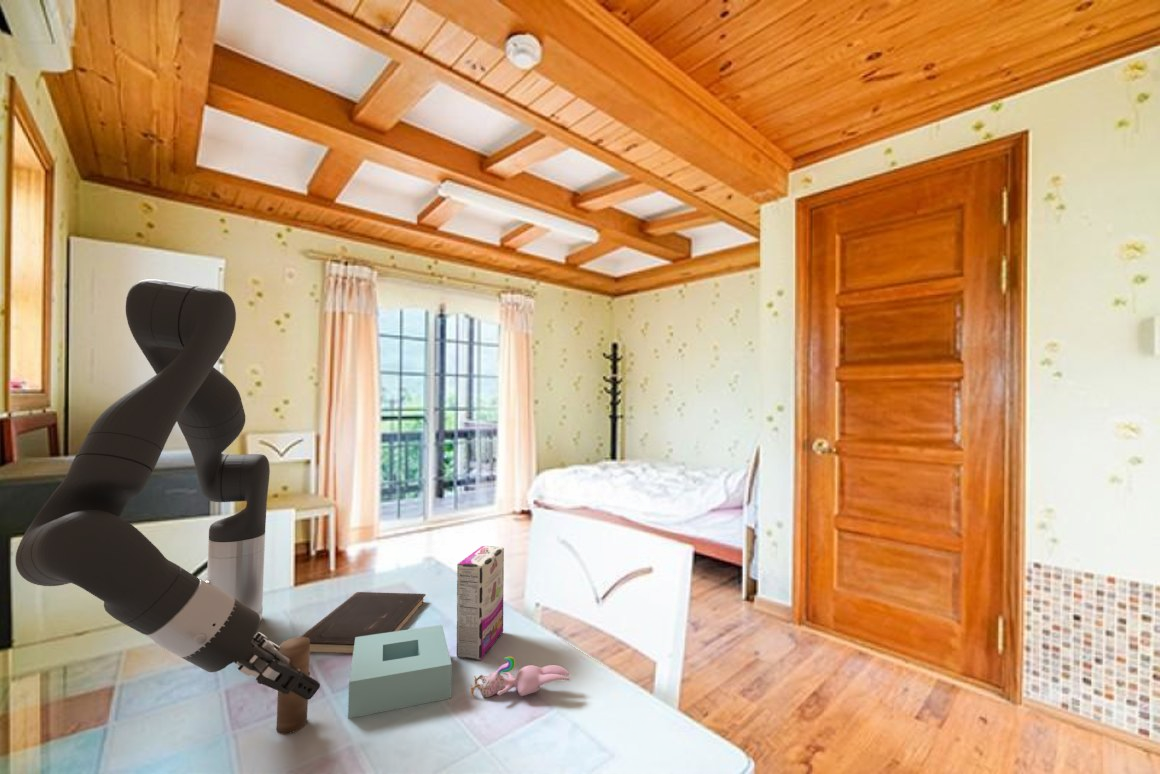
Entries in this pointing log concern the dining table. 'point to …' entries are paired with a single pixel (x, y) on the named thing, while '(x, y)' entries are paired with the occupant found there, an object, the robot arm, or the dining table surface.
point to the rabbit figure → (518, 679)
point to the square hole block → (399, 670)
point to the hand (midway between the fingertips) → (308, 685)
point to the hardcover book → (362, 619)
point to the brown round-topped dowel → (291, 704)
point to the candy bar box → (479, 601)
